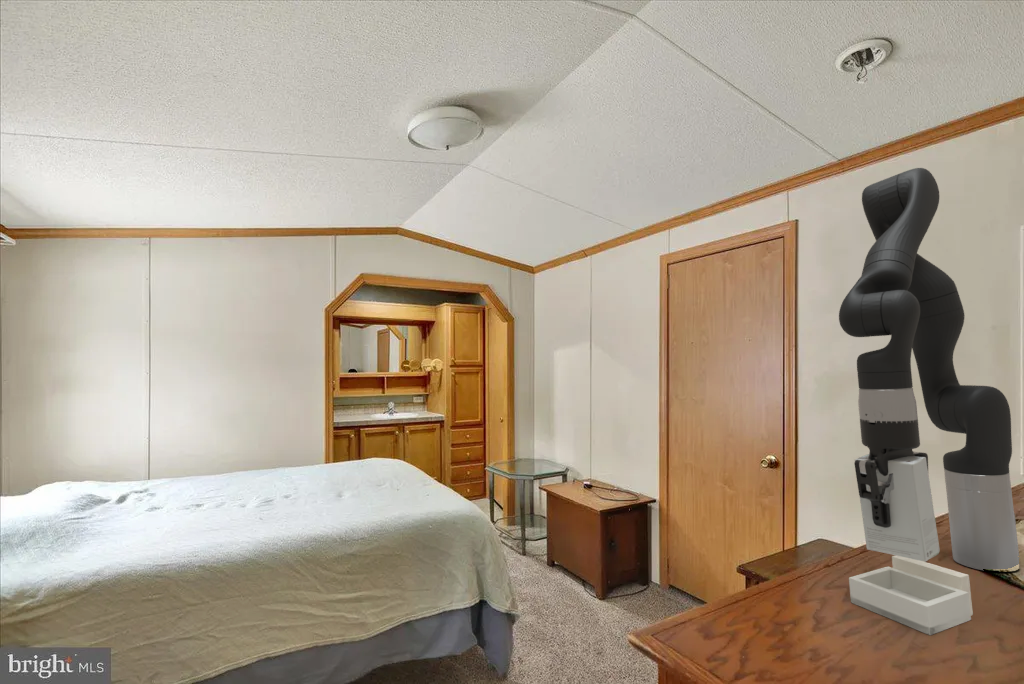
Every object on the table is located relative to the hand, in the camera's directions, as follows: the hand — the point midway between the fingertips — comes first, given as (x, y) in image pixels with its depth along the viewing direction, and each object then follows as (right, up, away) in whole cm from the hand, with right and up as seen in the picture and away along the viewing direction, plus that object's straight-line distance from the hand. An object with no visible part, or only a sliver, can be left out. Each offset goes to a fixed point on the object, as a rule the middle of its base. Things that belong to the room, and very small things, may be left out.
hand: (897, 522), depth 81 cm
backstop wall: (+7, -13, +1) cm, 15 cm away
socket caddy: (+1, -14, -1) cm, 14 cm away
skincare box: (0, -5, 0) cm, 5 cm away
